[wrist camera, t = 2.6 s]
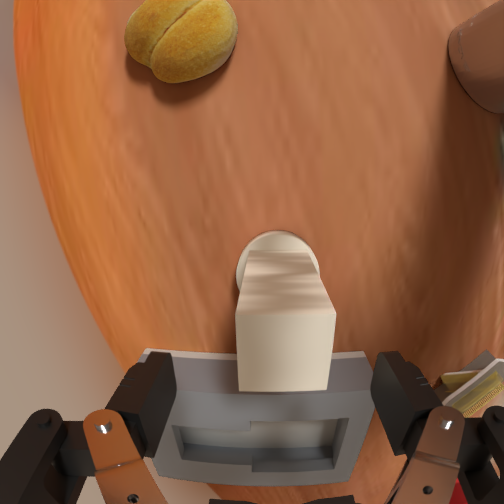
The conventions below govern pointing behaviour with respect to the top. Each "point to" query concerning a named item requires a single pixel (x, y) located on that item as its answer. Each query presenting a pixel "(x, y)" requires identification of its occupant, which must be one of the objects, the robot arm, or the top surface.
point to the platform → (472, 383)
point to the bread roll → (181, 37)
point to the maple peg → (282, 316)
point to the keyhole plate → (263, 425)
